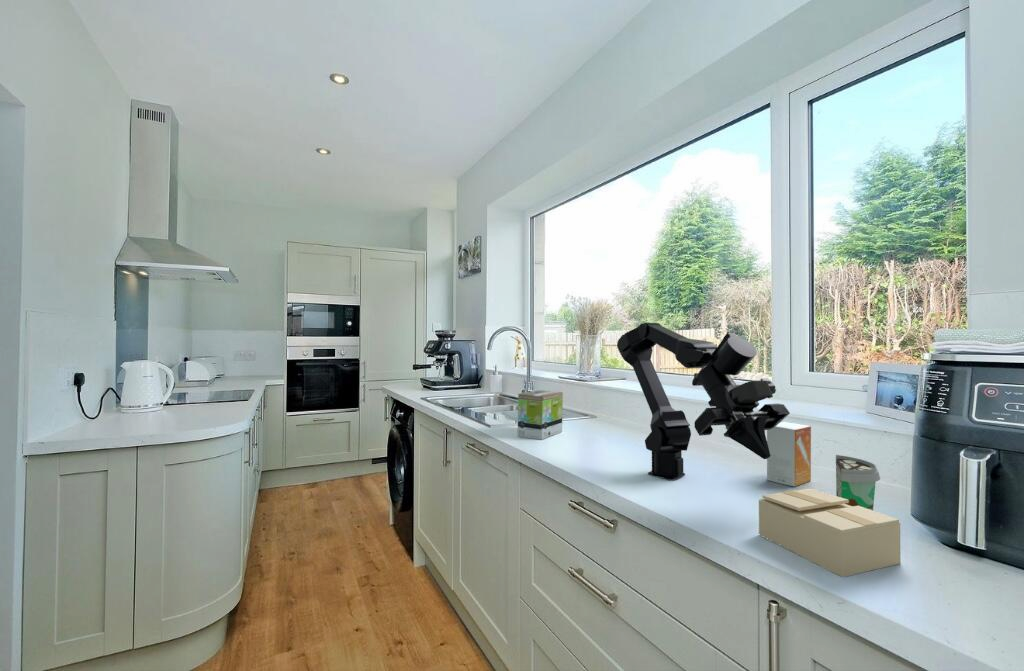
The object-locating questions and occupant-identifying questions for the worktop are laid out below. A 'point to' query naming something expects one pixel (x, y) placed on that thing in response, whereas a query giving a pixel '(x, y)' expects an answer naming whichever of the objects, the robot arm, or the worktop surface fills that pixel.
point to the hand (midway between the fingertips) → (767, 457)
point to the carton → (834, 535)
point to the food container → (856, 481)
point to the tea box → (540, 414)
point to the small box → (789, 454)
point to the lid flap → (805, 499)
